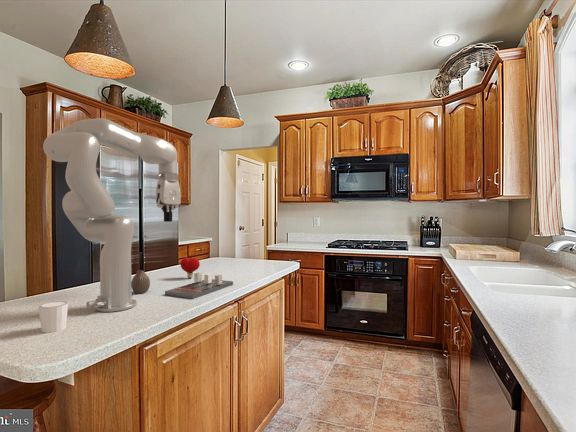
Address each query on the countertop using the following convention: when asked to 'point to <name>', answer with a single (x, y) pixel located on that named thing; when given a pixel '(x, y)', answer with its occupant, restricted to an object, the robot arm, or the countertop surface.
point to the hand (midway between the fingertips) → (168, 221)
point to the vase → (140, 282)
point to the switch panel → (199, 287)
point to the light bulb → (190, 266)
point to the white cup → (53, 316)
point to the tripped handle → (207, 278)
